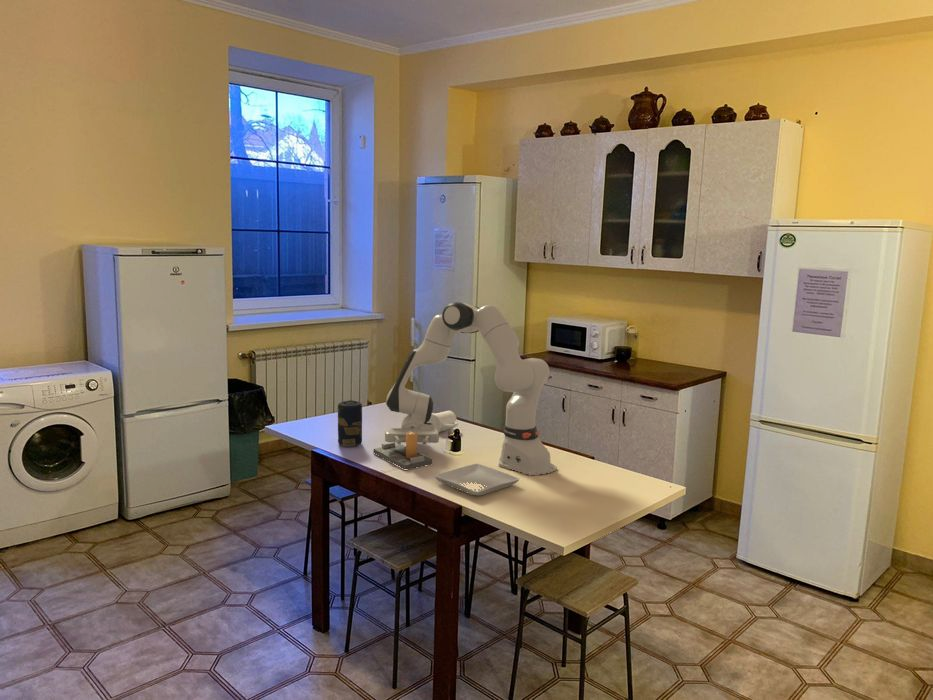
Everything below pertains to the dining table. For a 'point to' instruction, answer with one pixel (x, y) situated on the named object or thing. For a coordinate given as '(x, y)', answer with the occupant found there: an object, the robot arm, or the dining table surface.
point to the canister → (349, 423)
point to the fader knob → (411, 445)
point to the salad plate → (477, 478)
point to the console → (401, 456)
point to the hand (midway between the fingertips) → (411, 442)
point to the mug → (444, 420)
